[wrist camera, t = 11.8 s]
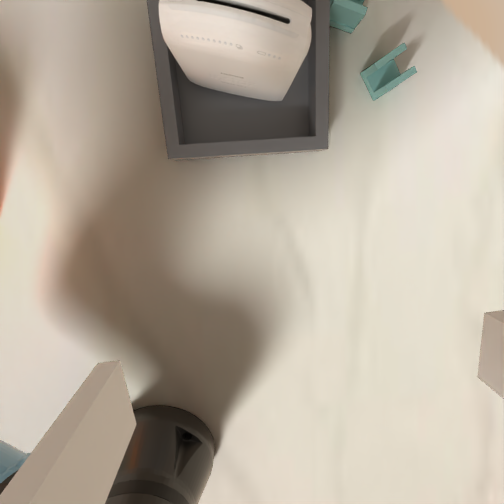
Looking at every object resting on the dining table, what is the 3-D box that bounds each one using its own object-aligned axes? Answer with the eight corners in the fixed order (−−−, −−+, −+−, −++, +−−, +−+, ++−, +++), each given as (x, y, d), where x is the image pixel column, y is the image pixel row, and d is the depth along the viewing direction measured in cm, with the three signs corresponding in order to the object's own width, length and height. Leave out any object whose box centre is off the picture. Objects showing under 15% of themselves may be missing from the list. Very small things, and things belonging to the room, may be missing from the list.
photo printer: (184, 86, 28) (142, 25, 16) (189, 36, 27) (149, -68, 15) (284, 108, 29) (314, 65, 17) (294, 61, 28) (332, -20, 16)
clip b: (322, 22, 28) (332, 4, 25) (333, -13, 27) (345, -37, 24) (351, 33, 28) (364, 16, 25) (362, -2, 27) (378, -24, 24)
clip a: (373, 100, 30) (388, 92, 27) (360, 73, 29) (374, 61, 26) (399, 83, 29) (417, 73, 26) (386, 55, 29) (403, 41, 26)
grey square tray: (176, 160, 31) (168, 158, 27) (154, -14, 27) (141, -42, 23) (318, 151, 31) (328, 148, 28) (318, -23, 27) (330, -51, 23)
